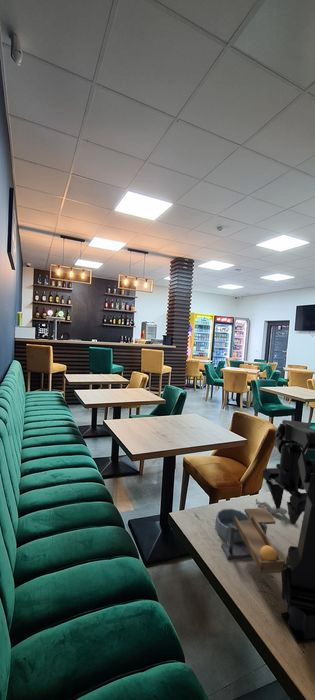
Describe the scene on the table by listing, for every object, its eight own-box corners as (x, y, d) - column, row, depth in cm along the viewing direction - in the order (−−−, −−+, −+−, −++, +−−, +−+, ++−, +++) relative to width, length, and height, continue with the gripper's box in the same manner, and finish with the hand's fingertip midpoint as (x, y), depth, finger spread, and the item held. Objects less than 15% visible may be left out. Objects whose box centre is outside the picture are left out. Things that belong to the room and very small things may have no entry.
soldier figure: (260, 504, 117) (293, 505, 112) (260, 518, 114) (295, 519, 108) (254, 496, 113) (288, 496, 107) (254, 510, 110) (289, 511, 104)
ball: (277, 567, 78) (281, 556, 76) (262, 568, 77) (266, 557, 76) (269, 551, 81) (273, 541, 80) (255, 552, 81) (259, 542, 79)
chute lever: (308, 570, 78) (310, 559, 78) (256, 574, 76) (258, 563, 75) (265, 510, 100) (266, 501, 99) (224, 512, 97) (225, 502, 97)
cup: (256, 541, 95) (258, 529, 95) (223, 543, 93) (224, 531, 93) (241, 519, 106) (242, 508, 105) (210, 520, 104) (211, 509, 104)
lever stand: (269, 556, 89) (272, 529, 88) (227, 559, 87) (230, 531, 86) (261, 544, 94) (264, 518, 93) (221, 546, 92) (223, 520, 91)
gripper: (339, 480, 80) (333, 536, 82) (295, 450, 99) (290, 496, 100) (301, 481, 78) (295, 538, 80) (263, 450, 97) (259, 498, 98)
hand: (285, 515), depth 89 cm, fingers open, 7 cm apart
